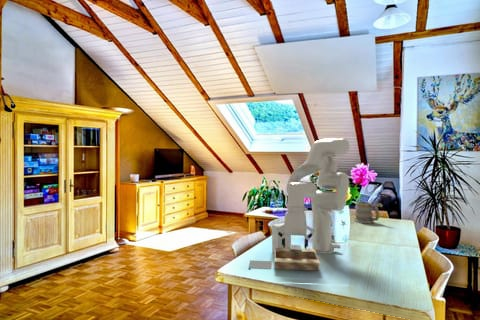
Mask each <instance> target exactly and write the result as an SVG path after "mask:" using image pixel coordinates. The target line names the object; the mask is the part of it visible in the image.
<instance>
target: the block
mask: <svg viewBox="0 0 480 320" xmlns="http://www.w3.org/2000/svg"><path fill="white" fill-rule="evenodd" d="M302 249H303V248H302V245H301V244H291V245H290V259H302Z"/></svg>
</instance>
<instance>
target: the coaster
mask: <svg viewBox="0 0 480 320" xmlns="http://www.w3.org/2000/svg"><path fill="white" fill-rule="evenodd" d="M251 269H255V270H257V269H259V270H272V260H251V259H249V265H248V270H251Z"/></svg>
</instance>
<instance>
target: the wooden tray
mask: <svg viewBox="0 0 480 320" xmlns="http://www.w3.org/2000/svg"><path fill="white" fill-rule="evenodd" d="M301 249H302V259H290V248H274V252H273V254H274V255H273V256H274V257H273V258H274V260H273V263H274V264H273V265H274V267H273V268H274V269H275V270H277V269H279V270H299V271H319V270H320V269H319V265H321V261H320V260H319V257H318V255H317V254H318V253H316V252H315V250H314V249H309V248H307V249H305V248H301Z"/></svg>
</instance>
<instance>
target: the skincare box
mask: <svg viewBox="0 0 480 320" xmlns="http://www.w3.org/2000/svg"><path fill="white" fill-rule="evenodd" d="M282 225H284V222H282V223H274V224H271V240H272V243H271V244H272V245H271V247H272V249H271V250H272V252H273V253H274V248H283V245H282V238H281V237H280V236H279V235H278V233H277V230H276V228H277V227H279V226H282ZM280 232H281V233H282V234H283V233H284V228H283V229H280ZM290 245H292V235H286V237H285V248H290Z"/></svg>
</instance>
